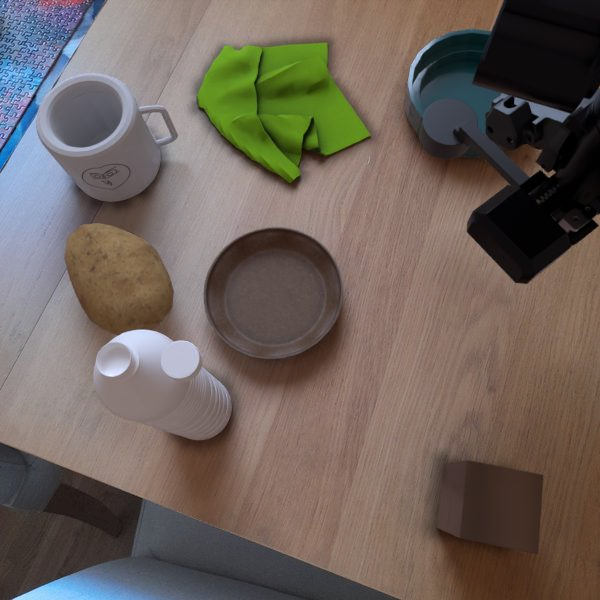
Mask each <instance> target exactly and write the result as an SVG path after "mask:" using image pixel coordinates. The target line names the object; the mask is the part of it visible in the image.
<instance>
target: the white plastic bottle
mask: <svg viewBox="0 0 600 600" xmlns="http://www.w3.org/2000/svg"><path fill="white" fill-rule="evenodd" d="M203 363H204V359H203V354H202V352H201V351H200V349H199V348H198V347H197V346H196V345H195V344H194V343H192V342H191V341H187V340H182V339H181V340H175V341H174V340H172V339H171V338H169V337H168V336H167V335H165V334H163V333H161V332H158V331H156V330H152V329H150V330H133V331H128V332H125V333H122V334H120V335H119V336H118V335H116V336H115V337H114V338H112V339H111V340H110V341H109V342H107V343H106V344H105V345H103V346H102V347H101V348H100V349H99V351H98V352H97V354H96V357H95V363H94V367H93V371H92V373H93V375H92V376H93V377H92V382H93V386H94V390H95V393H96V396H97V398H98V400H99V401H100V402H101V404H102V405H103V406H104V408H105V409H106V410H108V411H109V412H110V413H111V414H113V415H114V416H117V417H118V418H121V419H123V420H126V421H131V422H134V423H138V424H141V425H144V426H147V427H151V428H154V429H157V430H159V431H162V432H166V433H170V434H173V435H176V436H179V437H183V438H186V439H189V440H193V441H205V440H209V439H211V438H213V437H215V436H217V435H218V434H220V433H221V432H222V431H223V430H224V429H225V428H226V427H227V425H228V423H229V421H230V418H231V416H232V411H233V404H232V403H233V402H232V398H231V395H230V392H229V391H228V389H227V388H226V386H225V385H224V384H223V383H222V382H220V381H219V380H218V379H217V378H216V377H214V375H213V374H211V373H210V372H209V371H208V370H206V369H205V368H204V366H203Z"/></svg>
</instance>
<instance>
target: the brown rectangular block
mask: <svg viewBox="0 0 600 600" xmlns="http://www.w3.org/2000/svg"><path fill="white" fill-rule="evenodd" d="M543 484H544V475H543V474H542V473H537V472H532V471H527V470H522V469H516V468H512V467H506V466H501V465H496V464H490V463H485V462H480V461H475V460H470V459H468V460H467V459H466V460H461V461H454V462H448V463H444V464H443V468H442V477H441V486H440V495H439V504H438V511H437V512H438V513H437V521H436V528H437V529H439V530H441V531H442V532H445V533H447V534H450V535H452V536H453V537H457V538H458V539H461V540H466V541H471V542H476V543H481V544H486V545H489V546H490V545H491V546H495V547H499V548H505V549H509V550H514V551H519V552H524V553H527V554H528V553H529V554H534V555H539V548H540V535H541V534H540V533H541V519H542V518H541V517H542V500H543V486H544V485H543Z"/></svg>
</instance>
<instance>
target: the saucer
mask: <svg viewBox="0 0 600 600" xmlns="http://www.w3.org/2000/svg"><path fill="white" fill-rule="evenodd" d="M343 299H344V284H343V278H342V274H341V271H340V267H339V265H338V264H337V262H336V259H335V258H334V257H333V255H332V254H331V252H330V251H329V250H328V248H327V247H325V245H324V244H323V243H322V242H321V241H320V240H318V239H316V238H315V237H313V236H311V235H310V234H308V233H305V232H303V231H300V230H297V229H294V228H290V227H282V226H270V227H262V228H258V229H254V230H251V231H248V232H246V233H244V234H241V235H240V236H237V237H236V238H235V239H233V240H232V241H230V242H229V243H228V244H227V245H226V246H224V248H223V249H222V250H220V251H219V252H218V254H217V256H215V258H214V260H213V262H212V263H211V265H210V267H209V269H208V271H207V274H206V277H205V281H204V286H203V303H204V304H203V305H204V310H205V314H206V317H207V320H208V321H209V324H210V326H211V328H212V329H213V331H214V332H215V333H216V335H217V336H218V337H219V338H220V339H221V340H222V341H223V342H224V343H225V344H226V345H227V346H229V347H230V348H231V349H233V350H235V351H237V352H238V353H240V354H244V356H245V355H246V356H249V357H252V358H256V359H261V360H277V359H286V358H291V357H294V356H296V355H299V354H301V353H304V352H306V351H308V350H310V349H311V348H313V347H314V346H315V345H316V344H318V343H320V341H322V339H324V338H325V336H326V335H328V333H329V332H330V330H331V329H332V328H333V326H334V325H335V323H336V321H337V319H338V317H339V314H340V312H341V309H342V304H343Z"/></svg>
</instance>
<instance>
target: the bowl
mask: <svg viewBox="0 0 600 600" xmlns="http://www.w3.org/2000/svg"><path fill="white" fill-rule="evenodd" d="M491 31H492V30H486V29H476V28H468V29H467V28H466V29H460V30H453V31H450V32H448V33H444V34H443V35H440V36H438V37H435V38H434V39H432V40H431V41H430V42H428V43H427V44H426V45H425V46H424V47H422V49H420V50H419V51H418V53H417V54H416V56H415V57H414V59H413V61H412V63H411V64H410V66H409V71H408V76H407V81H406V86H405V93H404V100H403V104H404V109H405V114H406V119H407V121H408V122H409V124H410V125H411V128H412V129H413V130H414V132H415V133H416V135H417V136H419V131H420V127H421V123H422V119H423V115H424V113H425V111H426V109H427V108H428V107H429V106H430V105H431V104H433V103H434V102H436V101H439V100H442V99H457V100H460V101H463V102H465V103H466V104H468V105H469V106H470V107H471V108H472V109H473V110H474V112H475V113H476V116H477V119H478V128H479V129H480V130H481V131H482V132H483V133H484V134H485V135H486V117H485V114H486V113H487V112H488V111H489V110H490V109H491V106H492V101H493V100H494V99H496V98H497V97H498V96H500V93H499V92H496V91H492V90H489V89H486V88H482V87H479V86H476V85H472V82H473V79H474V76H475V73H476V70H477V67H478V64H479V62H480V59H481V56H482V54H483V51H484V49H485V46H486V44H487V41H488V39H489V36H490V33H491ZM486 136H487V135H486ZM487 137H488V136H487ZM494 143H495V142H494ZM495 144H496V145H497V146H498V147H499V148H500V149H501V150H502V151H503V152H504V151H505V150H507V149H505V148H504V147H502V146H500V145H498V144H497V143H495ZM460 157H461V158H468V159H477V158H482V157H481V156H480V155H479V154H478V153H477V152H476V151H475V150H474V149H473V148H472V147H471V146H470V147H469V149H468V150H467V151H466V152H465V153H464V154H463V155H461V156H460Z"/></svg>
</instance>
